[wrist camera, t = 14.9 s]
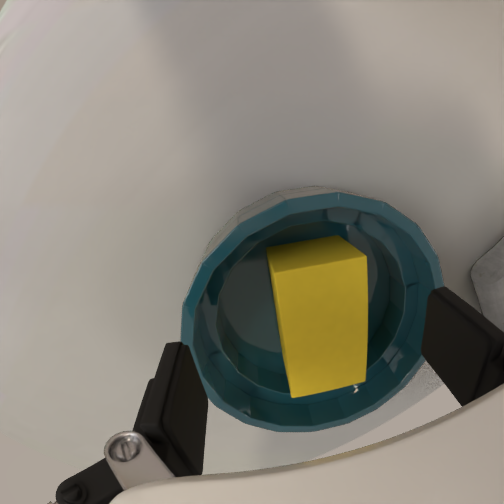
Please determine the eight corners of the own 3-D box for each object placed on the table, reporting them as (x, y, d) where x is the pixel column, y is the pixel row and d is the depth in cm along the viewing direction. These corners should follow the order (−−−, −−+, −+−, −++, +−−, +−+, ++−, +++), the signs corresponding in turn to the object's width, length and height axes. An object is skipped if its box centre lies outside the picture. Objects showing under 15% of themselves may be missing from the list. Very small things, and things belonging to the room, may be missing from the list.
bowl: (171, 209, 16) (145, 225, 11) (400, 174, 15) (446, 179, 11) (222, 397, 19) (219, 445, 15) (399, 360, 19) (426, 397, 15)
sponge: (265, 247, 16) (273, 272, 12) (338, 234, 16) (367, 255, 12) (282, 355, 18) (291, 398, 14) (344, 342, 17) (366, 381, 14)
